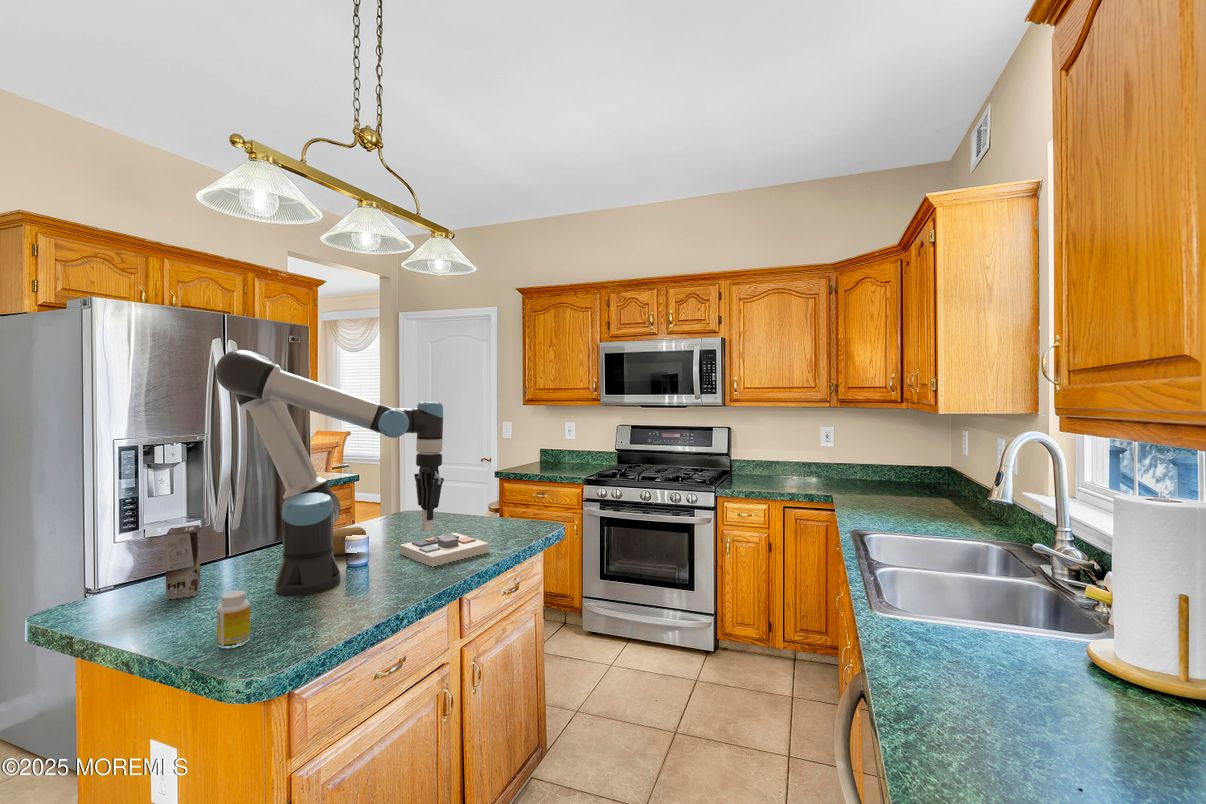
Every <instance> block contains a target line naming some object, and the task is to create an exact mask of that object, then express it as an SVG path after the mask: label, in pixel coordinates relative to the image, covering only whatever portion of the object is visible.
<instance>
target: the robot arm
mask: <svg viewBox="0 0 1206 804" xmlns="http://www.w3.org/2000/svg"><path fill="white" fill-rule="evenodd" d="M215 376H216V380H217V381H218V383H219V385H220V386H221V387H223V389H225V390H226V391H227V392H230V393H233V395H234V396H235V397H234V398H236V400H237V403H238V405H239V407H240V408H243V409H244V410H247V411H249V414H250V416H251V418H252V419H253V422H254V424H255V426H256V428H257V431H258V433H259V434H260V436H261V439H262V442H263V443H264V445H265V447H266V448H265V449H266V450H267V452H268V453H269V456H270V459H271V460H272V463H273V465H274V467H275V469H276V471H277V473H278V476H279V477H280V479H281V481H282V483H283V486H284V488H285V492H284V494H283V496H282V498H283V500H284V502H283V504H282V510H281V519H282V521H281V522H282V524H281V526H282V561H281V563H280V567H279V570H278V572H277V574H276V578H275V582H274V592H275V594H278V595H281V596H287V597H297V596H298V597H299V596H300V597H301V596H309V595H313V594H319V593H321V592H322V593H323V592H326V591H329V590H331V589H334V588H335V587H337V586H339V584H340V583H341V571H340V569H339V566H338V563H337V560H336V559H335V555H333V530H334V525H335V524H336V522H337V521H338V520H339V517H340V514H341V503H340V500H339V498H338V497H337V495H336V494H335V493H334V492H333V491H332V489H331V487H330V485H329V483H328V481H327V479H325V478H323V477H320V476H319V475H318V473H317V470H316V469H315V467H314V464H313V462H312V460H311V458H310V455H309V453H308V451H307V449H306V447H305V445H304V443H303V440H302V439H301V435H300V434H299V432H298V429H297V427H296V425H295V423H294V420H293V419H292V416H291V414H290V411H289V409H288V408H287V406H286V404H288V405H292V406H295V407H298V408H301V409H305V410H307V411H309V412H310V411H311V412H314V413H317V414H320V415H323V416H325V417H329V418H333V419H335V420H338V421H342V422H345V423H348V424H351V425H355V426H358V427H361V428H364V429H368V430H370V431H373V432H375V433H377V434H382V435H383V436H385V437H387V438H391V439H395V438H396V439H397V438H399V437H401V436H403V435H405V434H416V450H415V451H416V455H415V459H416V460H415V465H416V466H417V467H419V469H418V473H414V475H413V476H414V480H415V485H416V486H415V488H416V496H417V497H416V498H417V506H420V508H421V509H422V513H421V514H422V515H421V516H422V518H421V519H422V520H421V521H422V522H421V531H422V532H430V531H433V529H434V510H435V509H438V507H439V505H440V497H441V492H442V491H441V490H442V488H443V487H442V485H443V483H444V481H445V479H444V477H441V476H440V471H439V467H441V466H442V464H443V454H442V451H443V443H444V442H443V435H444V406H443V404H442V403H441V402H436V401H434V402H433V401H426V402H425V401H420V402H417V406H416V407H414V408H413V407H412V408H409V407H407V408H406V407H391V406H388V405H386V404H381V403H379V402H376V401H373V400H370V399H368V398H364V397H361V396H358V395H356V394H352V393H350V392H346V391H344V390H341V389H338V388H334V387H333V386H329V385H326V384H322V383H321V382H317V381H314V380H311V379H308V378H305V377H303V376H299V375H296V374H295V373H294V374H293V373H291V372H287V371H285V370H283V369H282V367H281V365H279V364H277V362H275V360H274V359H272V358H271V357H270V356H268V355H266V354H264V353H262V352H259V351H251V350H247V349H234V350H232V351H229V352H227V353H226V354H223V355H222V356H221V357H220V358H219V360H218V362H217V363H216V366H215Z"/></svg>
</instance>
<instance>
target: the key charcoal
mask: <svg viewBox="0 0 1206 804" xmlns="http://www.w3.org/2000/svg"><path fill="white" fill-rule="evenodd" d="M438 546H440V547H443V548H449V547H453V546H458V538H455V537H451V536H449V537H444V538H440V539H438Z"/></svg>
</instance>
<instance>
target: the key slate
mask: <svg viewBox="0 0 1206 804" xmlns="http://www.w3.org/2000/svg"><path fill="white" fill-rule="evenodd" d="M419 550H420V551H422V552H425V553H429V552H433V551H437V550H440V548H439V547H436V546H433V545H430V546H426V547H422V548H419Z"/></svg>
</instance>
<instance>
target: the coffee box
mask: <svg viewBox="0 0 1206 804" xmlns="http://www.w3.org/2000/svg"><path fill="white" fill-rule="evenodd" d="M200 525H201V524H195V525H186V526H179V527H171V528H169V529H168V531H167V532H166V534H165V601H170V600H169V599H172V600H176V598H178V599H184V598H183V597H185V598H191V597H190V596H193V597H196V595H198V592H199V589H200V587H201V541H200V540H201V536H200V535H201V534H200V531H201V530H200Z"/></svg>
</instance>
